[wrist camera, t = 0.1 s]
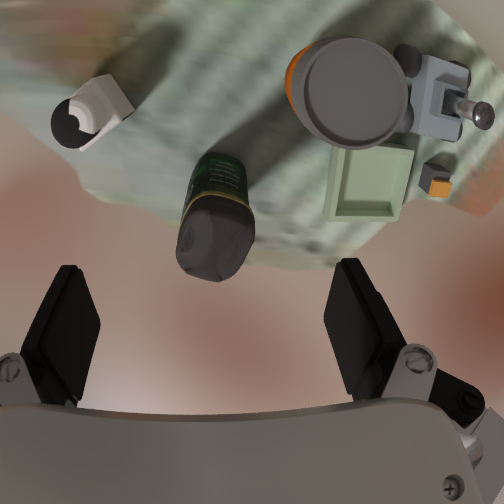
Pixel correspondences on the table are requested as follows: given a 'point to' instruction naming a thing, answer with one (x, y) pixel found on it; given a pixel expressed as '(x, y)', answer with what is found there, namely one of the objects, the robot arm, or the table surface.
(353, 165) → the tray
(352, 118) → the reusable coffee cup
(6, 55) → the table surface
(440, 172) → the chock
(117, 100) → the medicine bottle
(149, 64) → the table surface
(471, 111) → the pin
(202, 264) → the coffee jar
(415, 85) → the toy car
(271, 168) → the table surface
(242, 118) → the table surface
